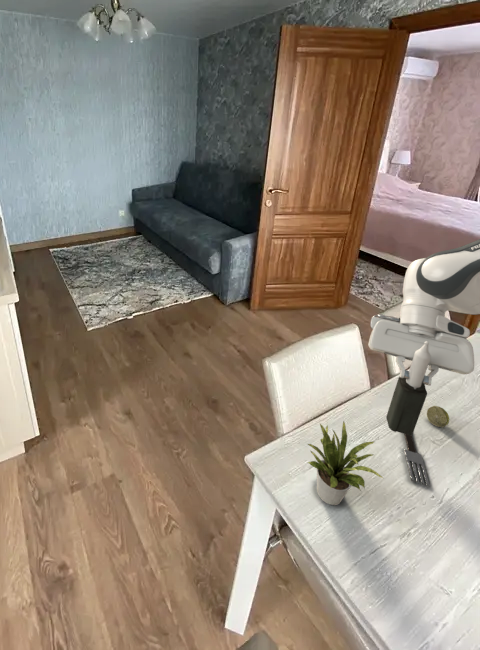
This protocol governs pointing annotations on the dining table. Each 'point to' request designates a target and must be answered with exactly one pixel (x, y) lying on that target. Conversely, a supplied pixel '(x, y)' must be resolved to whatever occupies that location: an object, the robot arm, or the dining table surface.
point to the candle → (409, 395)
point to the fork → (414, 461)
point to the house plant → (338, 467)
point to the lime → (437, 416)
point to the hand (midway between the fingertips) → (415, 381)
